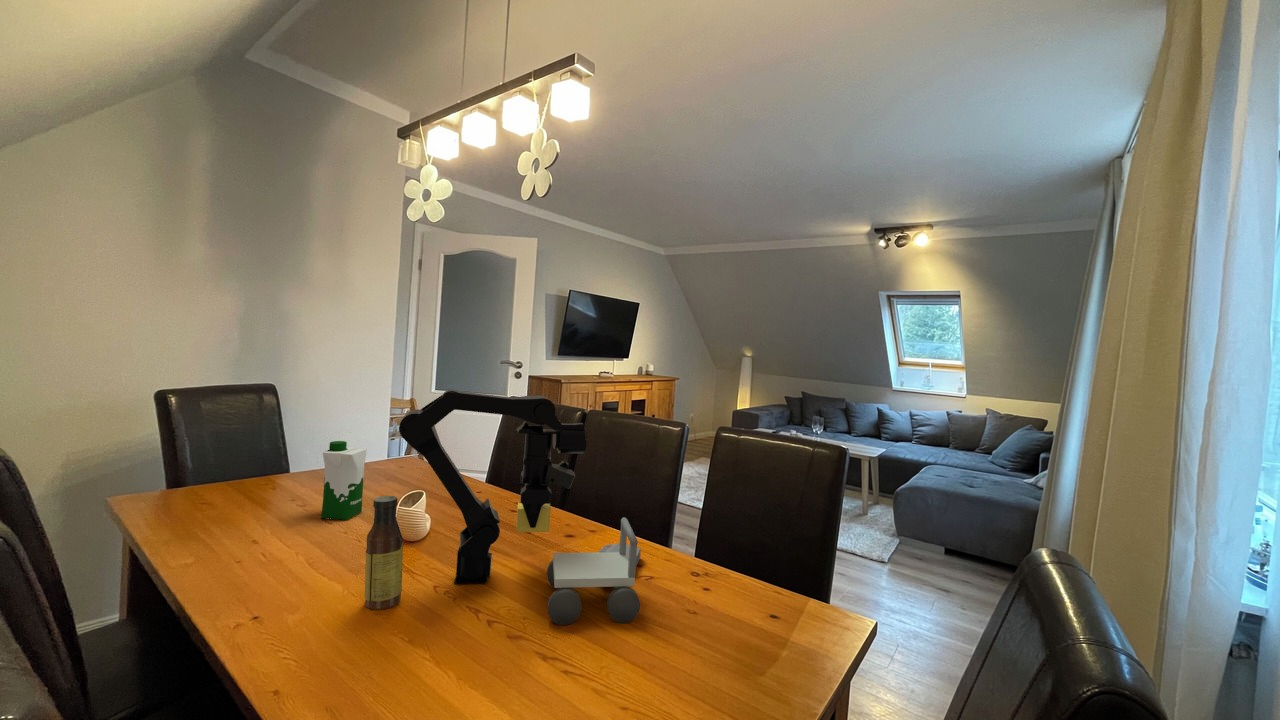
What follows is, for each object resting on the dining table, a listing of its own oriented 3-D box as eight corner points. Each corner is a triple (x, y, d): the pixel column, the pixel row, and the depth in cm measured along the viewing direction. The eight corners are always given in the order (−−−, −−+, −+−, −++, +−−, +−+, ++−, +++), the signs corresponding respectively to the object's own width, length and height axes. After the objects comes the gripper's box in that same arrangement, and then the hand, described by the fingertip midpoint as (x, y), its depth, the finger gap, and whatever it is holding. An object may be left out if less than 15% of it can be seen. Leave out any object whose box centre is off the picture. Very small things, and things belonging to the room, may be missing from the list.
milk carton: (335, 509, 144) (339, 438, 144) (367, 511, 144) (371, 441, 144) (315, 519, 136) (319, 444, 135) (349, 522, 135) (353, 447, 135)
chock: (516, 532, 110) (517, 509, 110) (516, 524, 115) (517, 502, 114) (549, 531, 112) (550, 509, 112) (548, 524, 116) (549, 502, 116)
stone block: (590, 581, 115) (633, 579, 113) (588, 560, 116) (631, 557, 114) (604, 562, 127) (643, 560, 125) (601, 543, 127) (641, 540, 125)
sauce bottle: (408, 599, 98) (414, 496, 98) (382, 614, 92) (388, 505, 92) (381, 592, 100) (387, 491, 100) (354, 606, 95) (360, 499, 94)
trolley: (547, 625, 92) (552, 543, 92) (546, 584, 108) (550, 513, 108) (639, 622, 96) (644, 542, 95) (625, 583, 111) (630, 514, 111)
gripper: (578, 464, 105) (573, 539, 106) (570, 445, 124) (565, 510, 124) (523, 463, 103) (517, 539, 103) (523, 444, 121) (518, 510, 121)
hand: (532, 523), depth 113 cm, fingers closed on chock, 4 cm apart
